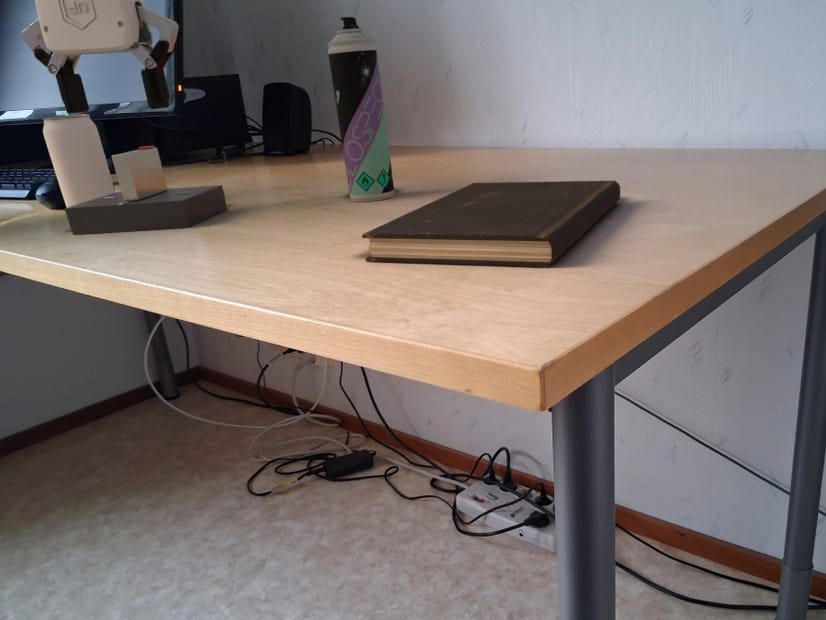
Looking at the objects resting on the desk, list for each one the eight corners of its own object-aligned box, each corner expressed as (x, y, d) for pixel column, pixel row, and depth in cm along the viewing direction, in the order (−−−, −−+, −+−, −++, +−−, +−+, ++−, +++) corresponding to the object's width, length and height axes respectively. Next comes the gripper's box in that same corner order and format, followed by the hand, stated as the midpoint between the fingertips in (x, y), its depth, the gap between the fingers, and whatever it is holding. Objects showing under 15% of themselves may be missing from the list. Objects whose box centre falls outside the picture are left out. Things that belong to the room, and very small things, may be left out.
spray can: (343, 202, 84) (314, 19, 76) (360, 194, 89) (335, 20, 81) (385, 200, 82) (360, 13, 75) (401, 192, 87) (379, 15, 79)
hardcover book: (366, 261, 57) (361, 234, 56) (474, 204, 76) (472, 182, 75) (554, 268, 51) (553, 237, 50) (620, 203, 70) (620, 180, 69)
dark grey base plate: (70, 235, 78) (61, 207, 77) (124, 215, 88) (117, 190, 87) (187, 228, 76) (180, 199, 75) (228, 209, 86) (223, 183, 85)
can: (112, 200, 101) (87, 114, 97) (123, 204, 97) (98, 113, 92) (63, 208, 98) (34, 119, 93) (72, 213, 93) (43, 119, 88)
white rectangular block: (138, 200, 78) (125, 152, 76) (123, 201, 78) (110, 153, 76) (168, 190, 84) (156, 145, 82) (154, 191, 84) (142, 146, 82)
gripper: (-31, -67, 68) (24, 116, 75) (134, -82, 66) (175, 108, 73) (23, -56, 75) (68, 111, 82) (174, -69, 73) (207, 104, 80)
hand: (118, 110), depth 77 cm, fingers open, 9 cm apart
